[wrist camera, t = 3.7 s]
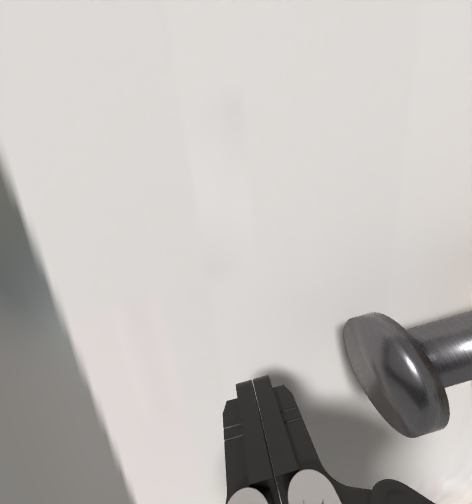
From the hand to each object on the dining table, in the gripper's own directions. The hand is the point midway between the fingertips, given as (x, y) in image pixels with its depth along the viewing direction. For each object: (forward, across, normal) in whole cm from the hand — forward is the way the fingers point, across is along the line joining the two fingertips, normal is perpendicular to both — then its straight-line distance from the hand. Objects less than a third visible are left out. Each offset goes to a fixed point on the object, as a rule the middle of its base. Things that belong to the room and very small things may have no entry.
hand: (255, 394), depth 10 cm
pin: (+2, -12, 0) cm, 12 cm away
